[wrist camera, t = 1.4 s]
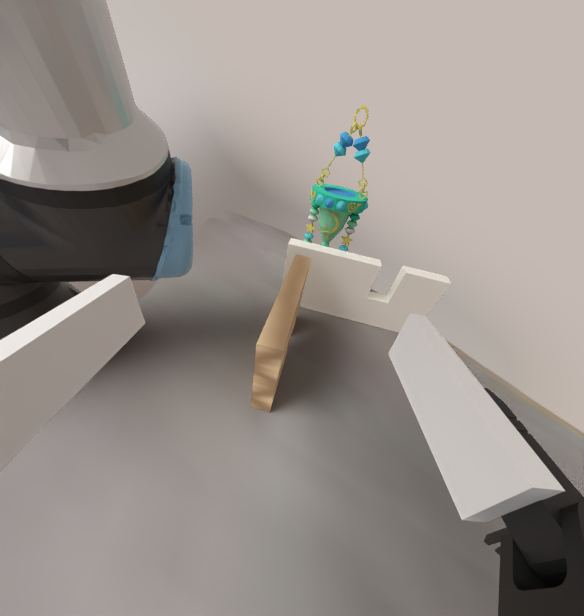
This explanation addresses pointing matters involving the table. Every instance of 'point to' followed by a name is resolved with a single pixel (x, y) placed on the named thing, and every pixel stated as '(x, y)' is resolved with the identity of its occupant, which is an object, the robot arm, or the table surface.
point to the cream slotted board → (363, 287)
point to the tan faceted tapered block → (278, 335)
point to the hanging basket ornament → (339, 195)
